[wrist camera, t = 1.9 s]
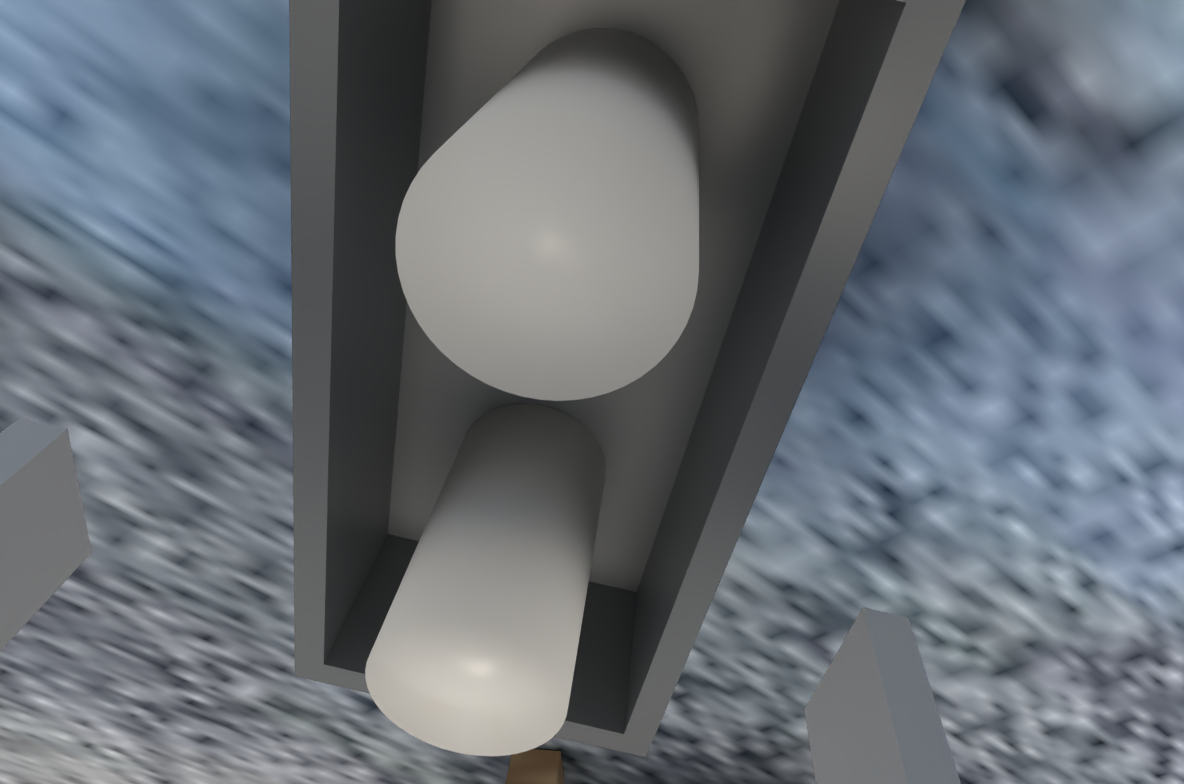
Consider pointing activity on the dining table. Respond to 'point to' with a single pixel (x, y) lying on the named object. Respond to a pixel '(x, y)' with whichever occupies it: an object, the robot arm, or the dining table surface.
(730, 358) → the tray
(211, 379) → the dining table surface
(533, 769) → the wooden step stool
